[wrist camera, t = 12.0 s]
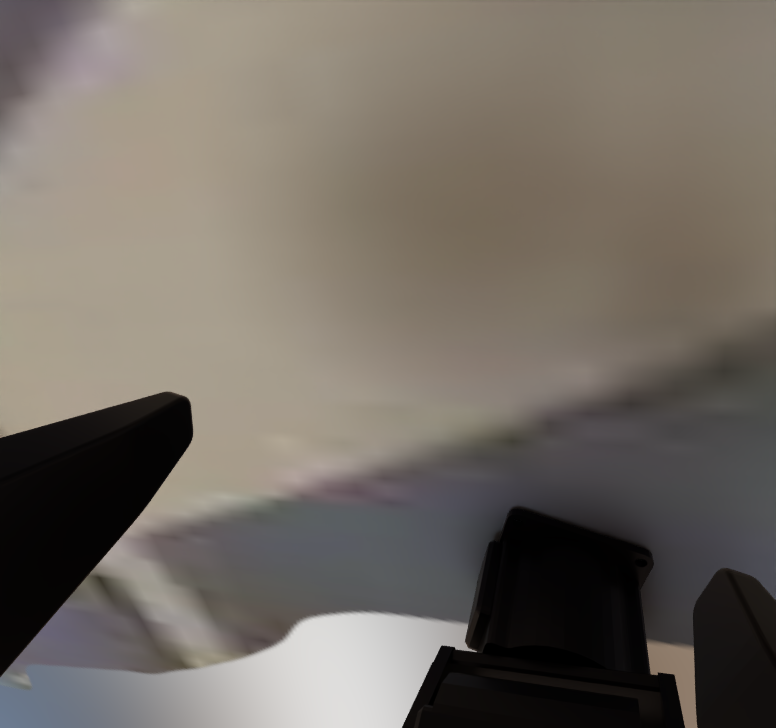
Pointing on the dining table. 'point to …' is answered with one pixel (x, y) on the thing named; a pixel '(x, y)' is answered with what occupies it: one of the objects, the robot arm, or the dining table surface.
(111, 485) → the robot arm
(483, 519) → the dining table surface
